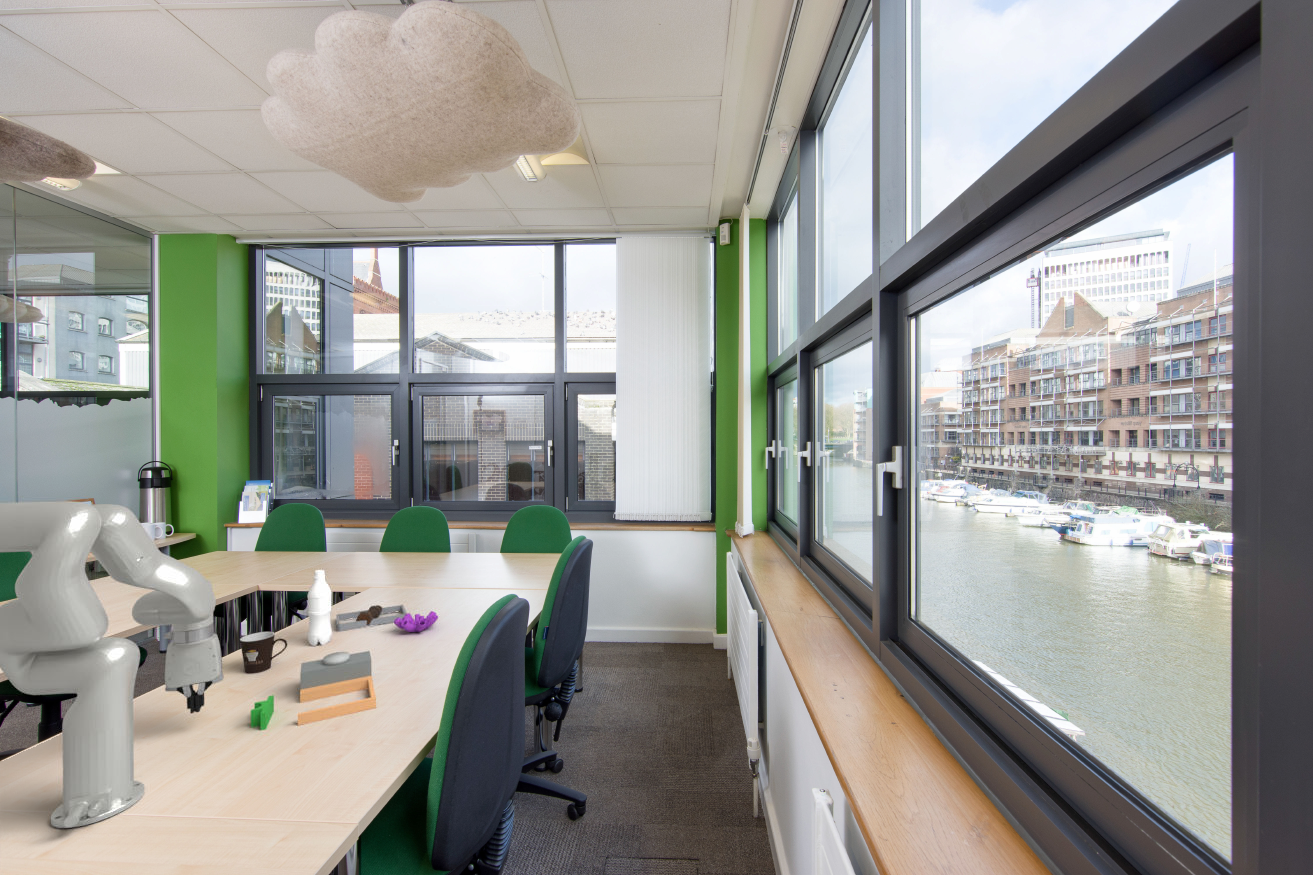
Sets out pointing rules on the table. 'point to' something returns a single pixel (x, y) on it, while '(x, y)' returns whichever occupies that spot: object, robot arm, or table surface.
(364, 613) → the brown lumpy elongated piece
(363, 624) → the parts tray
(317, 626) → the water bottle
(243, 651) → the coffee mug
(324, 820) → the table surface
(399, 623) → the purple coral
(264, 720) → the pipe clamp
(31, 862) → the table surface
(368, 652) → the orange and grey frame
